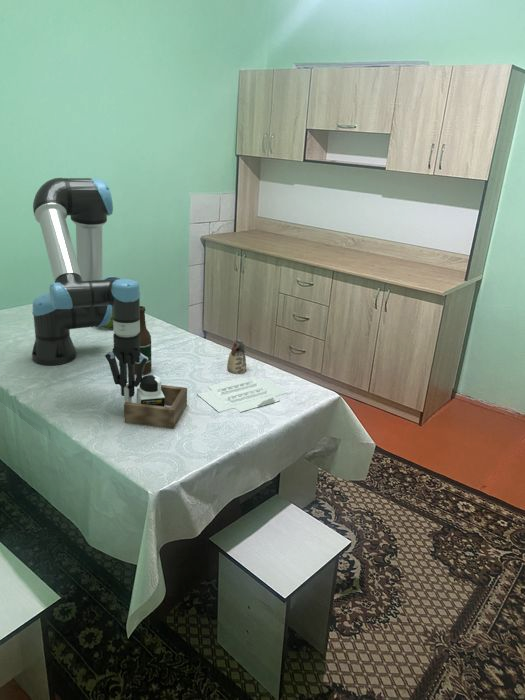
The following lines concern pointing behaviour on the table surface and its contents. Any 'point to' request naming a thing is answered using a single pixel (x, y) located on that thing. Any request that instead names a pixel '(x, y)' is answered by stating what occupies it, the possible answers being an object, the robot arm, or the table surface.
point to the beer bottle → (144, 343)
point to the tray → (242, 394)
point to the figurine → (237, 358)
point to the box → (158, 409)
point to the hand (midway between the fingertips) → (128, 405)
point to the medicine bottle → (150, 391)
